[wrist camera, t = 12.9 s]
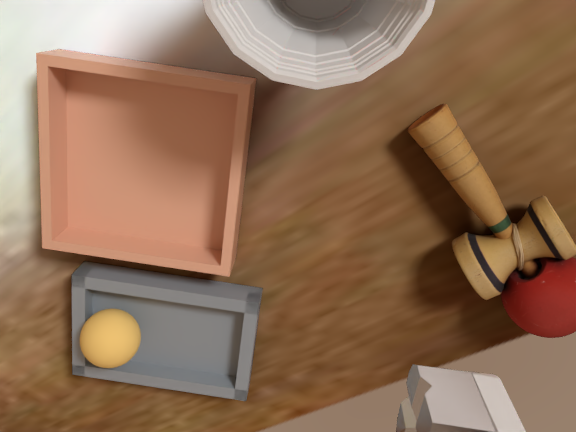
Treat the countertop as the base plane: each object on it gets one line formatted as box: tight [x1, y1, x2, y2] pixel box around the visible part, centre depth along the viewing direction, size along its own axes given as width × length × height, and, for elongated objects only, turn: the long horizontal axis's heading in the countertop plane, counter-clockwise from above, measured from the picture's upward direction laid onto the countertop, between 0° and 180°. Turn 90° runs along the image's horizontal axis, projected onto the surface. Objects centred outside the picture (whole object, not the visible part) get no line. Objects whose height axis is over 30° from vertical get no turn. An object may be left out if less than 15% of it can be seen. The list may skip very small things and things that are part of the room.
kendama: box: [408, 104, 576, 338], centre depth 37 cm, size 8×6×18 cm
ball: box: [80, 308, 141, 368], centre depth 41 cm, size 4×4×4 cm
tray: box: [72, 261, 263, 401], centre depth 43 cm, size 14×9×2 cm, turn 82°
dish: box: [36, 49, 256, 276], centre depth 38 cm, size 13×13×3 cm
